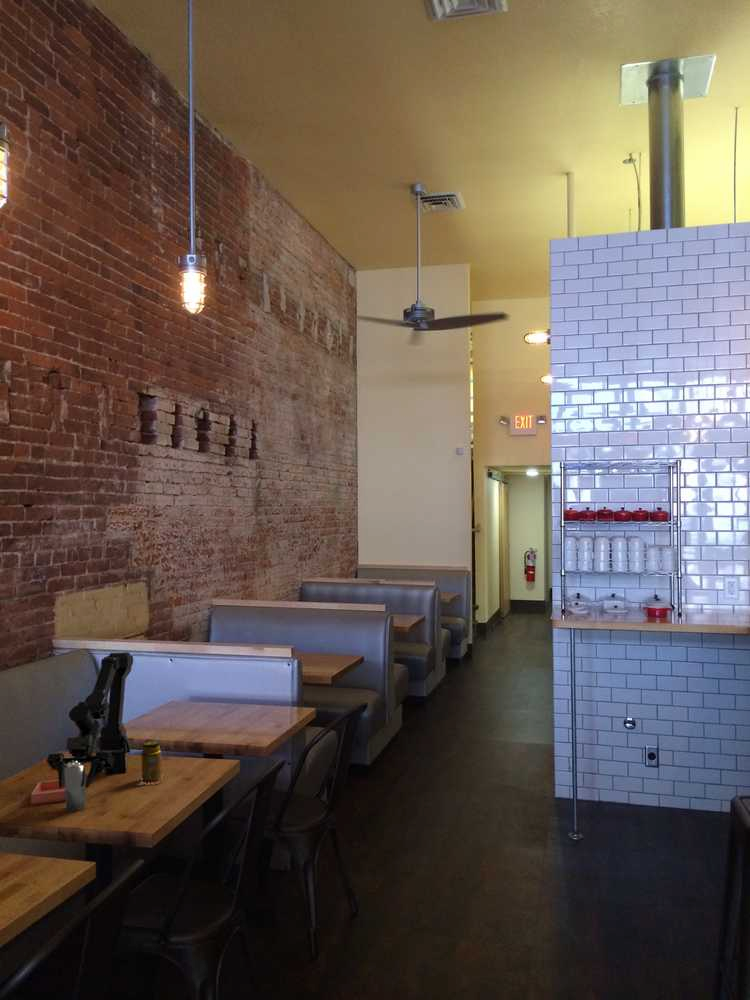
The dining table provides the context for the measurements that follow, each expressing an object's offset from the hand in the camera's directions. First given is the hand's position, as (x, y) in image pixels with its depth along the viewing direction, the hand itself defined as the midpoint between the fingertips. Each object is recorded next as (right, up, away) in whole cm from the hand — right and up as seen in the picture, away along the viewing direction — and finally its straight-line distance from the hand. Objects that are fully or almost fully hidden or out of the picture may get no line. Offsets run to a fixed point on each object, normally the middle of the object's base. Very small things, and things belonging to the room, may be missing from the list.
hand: (73, 787), depth 228 cm
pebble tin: (0, -7, +1) cm, 7 cm away
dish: (-10, -7, +13) cm, 18 cm away
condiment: (+16, -6, +23) cm, 29 cm away
